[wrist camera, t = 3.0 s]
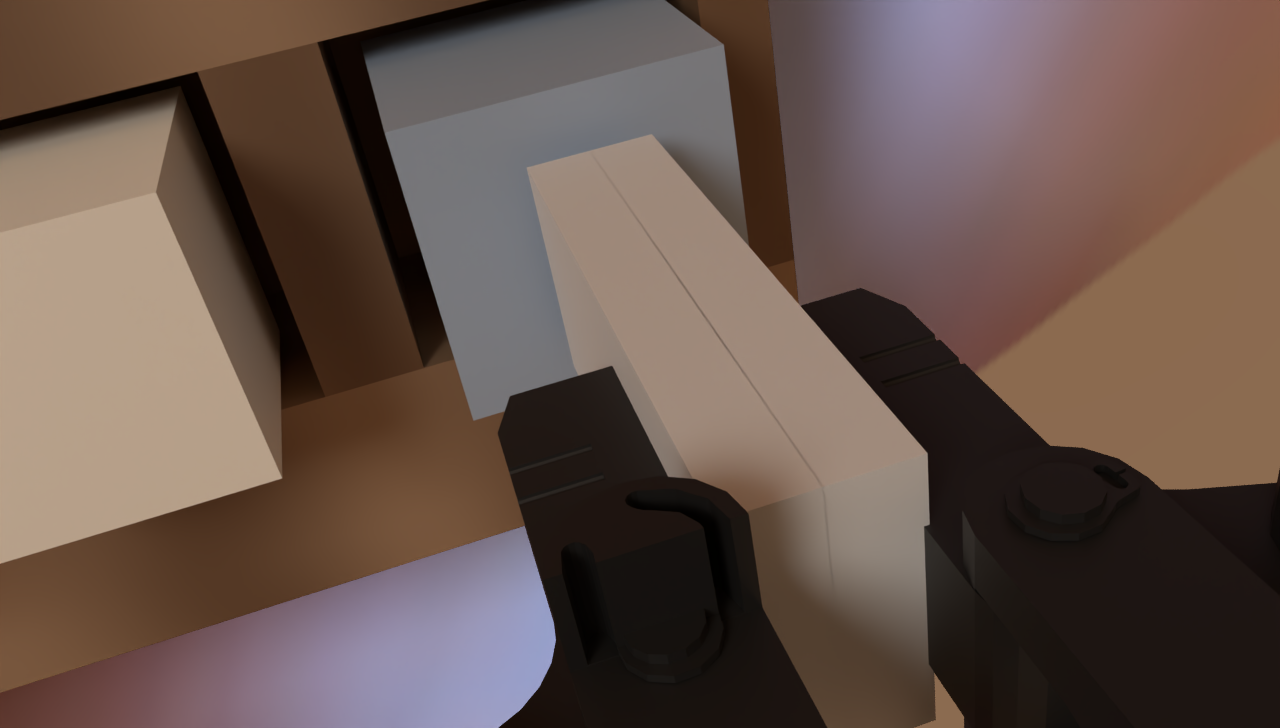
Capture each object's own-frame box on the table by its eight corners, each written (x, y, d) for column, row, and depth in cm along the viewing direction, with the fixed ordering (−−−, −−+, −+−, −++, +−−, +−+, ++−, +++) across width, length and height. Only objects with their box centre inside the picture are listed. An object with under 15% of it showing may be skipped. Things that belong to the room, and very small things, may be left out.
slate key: (435, 286, 18) (473, 420, 14) (360, 41, 16) (384, 133, 12) (671, 220, 18) (759, 334, 15) (630, -27, 16) (722, 44, 13)
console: (-291, 604, 21) (-429, 829, 17) (-872, -59, 14) (-1339, 38, 10) (717, 306, 24) (812, 434, 20) (618, -359, 17) (729, -378, 13)
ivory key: (16, 405, 17) (-45, 577, 14) (-127, 161, 15) (-240, 295, 11) (280, 330, 17) (282, 478, 14) (180, 86, 15) (155, 192, 12)
